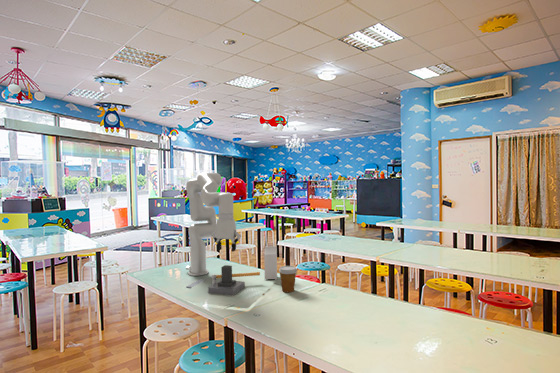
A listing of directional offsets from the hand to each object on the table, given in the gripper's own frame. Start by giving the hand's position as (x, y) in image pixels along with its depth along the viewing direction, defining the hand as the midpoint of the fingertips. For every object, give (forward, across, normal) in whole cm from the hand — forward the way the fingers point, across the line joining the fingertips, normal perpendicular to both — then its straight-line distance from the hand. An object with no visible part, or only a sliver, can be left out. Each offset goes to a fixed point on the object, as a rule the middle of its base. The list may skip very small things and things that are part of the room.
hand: (226, 250), depth 169 cm
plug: (+21, 0, 0) cm, 21 cm away
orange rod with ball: (+16, +1, +9) cm, 18 cm away
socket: (+22, -2, 0) cm, 22 cm away
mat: (+22, -18, +8) cm, 29 cm away
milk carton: (+22, +14, +30) cm, 40 cm away
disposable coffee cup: (+22, +30, +11) cm, 39 cm away
